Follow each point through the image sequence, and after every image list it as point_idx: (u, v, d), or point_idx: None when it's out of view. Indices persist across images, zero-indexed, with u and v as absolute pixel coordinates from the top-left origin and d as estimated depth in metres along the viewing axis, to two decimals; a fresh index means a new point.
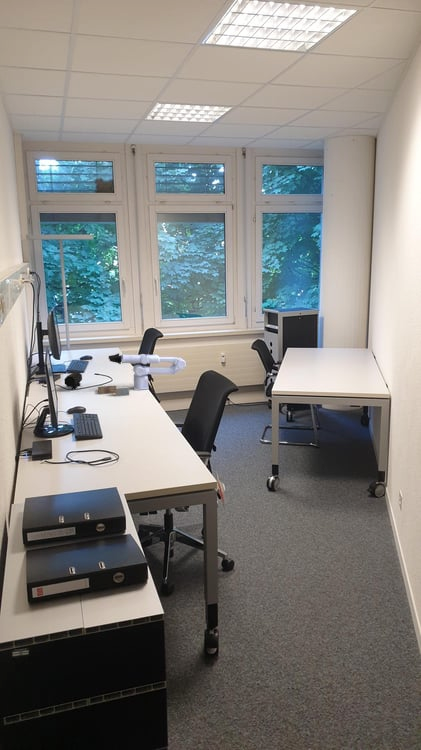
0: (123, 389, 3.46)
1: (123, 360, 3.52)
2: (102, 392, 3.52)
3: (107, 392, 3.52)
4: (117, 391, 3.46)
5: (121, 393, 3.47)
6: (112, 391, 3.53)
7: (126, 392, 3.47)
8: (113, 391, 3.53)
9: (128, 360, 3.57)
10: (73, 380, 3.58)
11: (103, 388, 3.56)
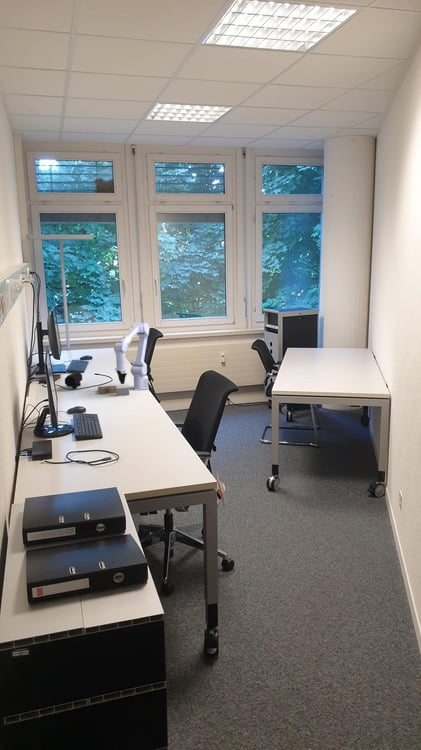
0: (123, 389, 3.46)
1: (122, 371, 3.39)
2: (102, 392, 3.52)
3: (107, 392, 3.52)
4: (117, 391, 3.46)
5: (121, 393, 3.47)
6: (112, 391, 3.53)
7: (126, 392, 3.47)
8: (113, 391, 3.53)
9: (122, 364, 3.43)
10: (73, 380, 3.59)
11: (103, 388, 3.56)
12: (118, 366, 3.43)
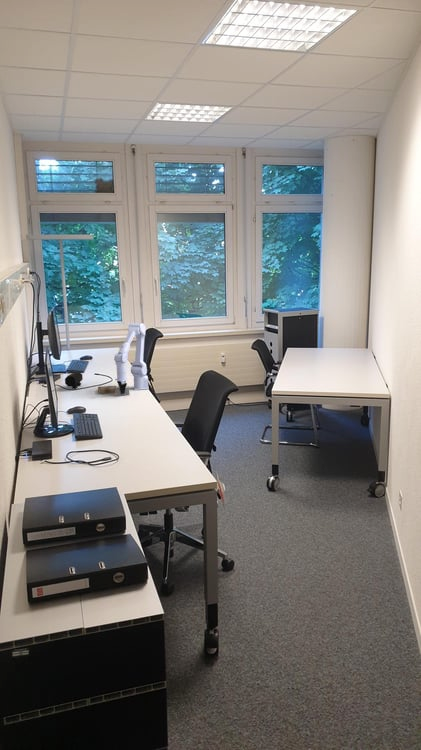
0: None
1: (123, 382, 3.40)
2: (102, 392, 3.52)
3: (107, 392, 3.52)
4: (117, 391, 3.46)
5: None
6: (112, 391, 3.53)
7: (126, 392, 3.47)
8: (113, 391, 3.53)
9: (123, 374, 3.44)
10: (73, 380, 3.59)
11: (103, 388, 3.56)
12: (118, 376, 3.44)
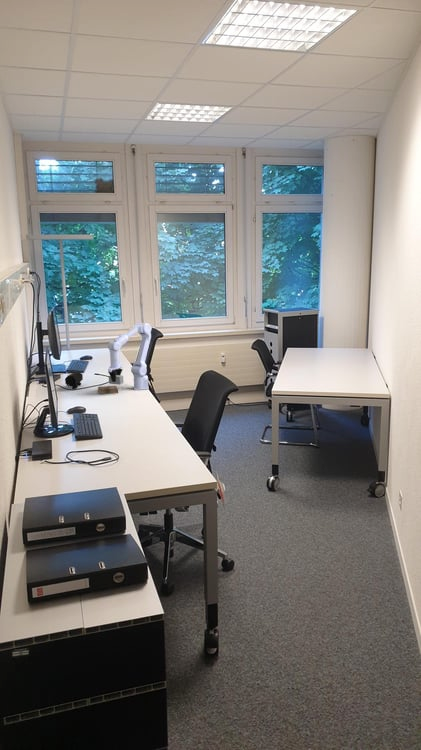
0: None
1: (109, 370, 3.43)
2: (102, 392, 3.52)
3: (107, 392, 3.52)
4: (109, 379, 3.50)
5: None
6: (112, 391, 3.53)
7: (117, 381, 3.48)
8: (113, 391, 3.53)
9: (113, 362, 3.46)
10: (74, 380, 3.59)
11: (103, 388, 3.56)
12: None
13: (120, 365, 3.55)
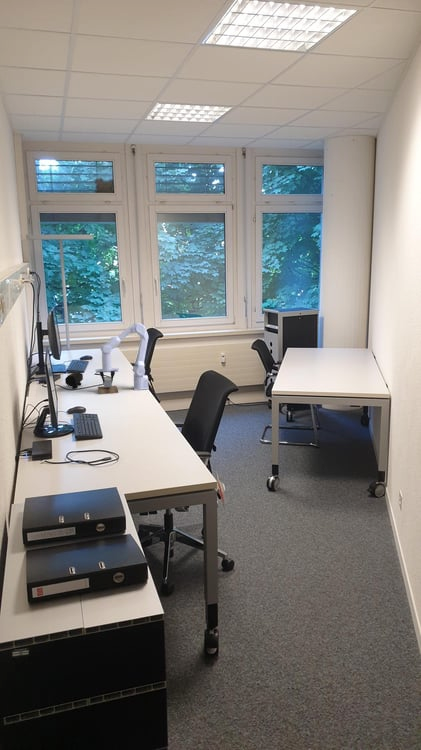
0: (104, 379, 3.55)
1: None
2: (102, 392, 3.52)
3: (107, 392, 3.52)
4: None
5: None
6: (112, 391, 3.53)
7: (104, 383, 3.54)
8: (113, 391, 3.53)
9: (102, 365, 3.53)
10: (74, 379, 3.60)
11: (103, 388, 3.56)
12: None
13: (116, 369, 3.57)
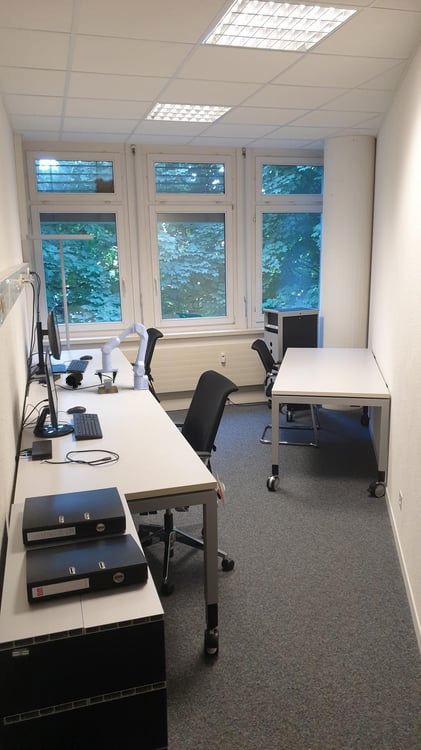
0: (104, 382, 3.56)
1: None
2: (102, 392, 3.52)
3: (107, 392, 3.52)
4: None
5: (104, 385, 3.58)
6: (112, 391, 3.53)
7: (104, 385, 3.54)
8: (113, 391, 3.53)
9: (102, 365, 3.53)
10: (74, 379, 3.60)
11: (103, 388, 3.56)
12: None
13: None
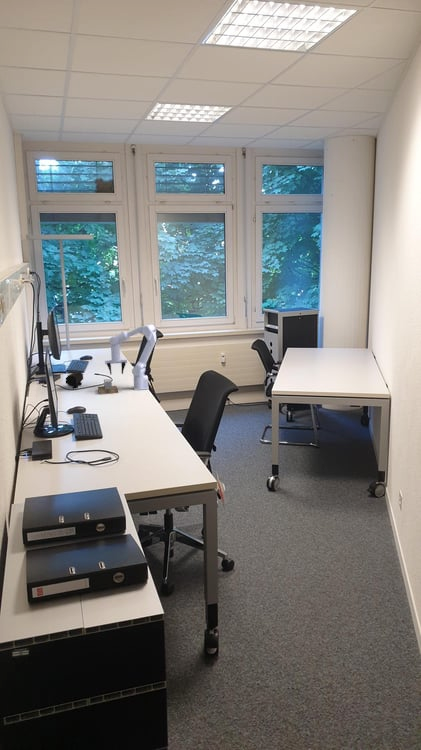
0: (104, 382, 3.56)
1: (105, 362, 3.64)
2: (102, 392, 3.52)
3: (107, 392, 3.52)
4: None
5: (104, 385, 3.58)
6: (112, 391, 3.53)
7: (104, 385, 3.54)
8: (113, 391, 3.53)
9: (111, 356, 3.64)
10: (74, 379, 3.60)
11: (103, 388, 3.56)
12: None
13: (125, 360, 3.67)
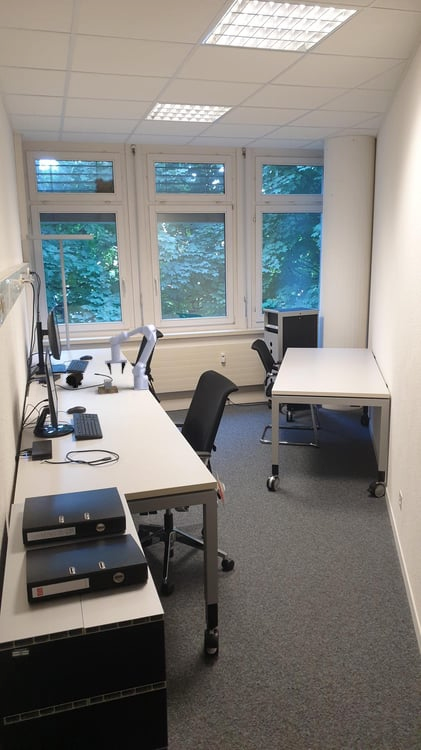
0: (104, 382, 3.56)
1: (105, 362, 3.64)
2: (102, 392, 3.52)
3: (107, 392, 3.52)
4: None
5: (104, 385, 3.58)
6: (112, 391, 3.53)
7: (104, 385, 3.54)
8: (113, 391, 3.53)
9: (111, 356, 3.64)
10: (74, 379, 3.61)
11: (103, 388, 3.56)
12: None
13: (125, 360, 3.67)
